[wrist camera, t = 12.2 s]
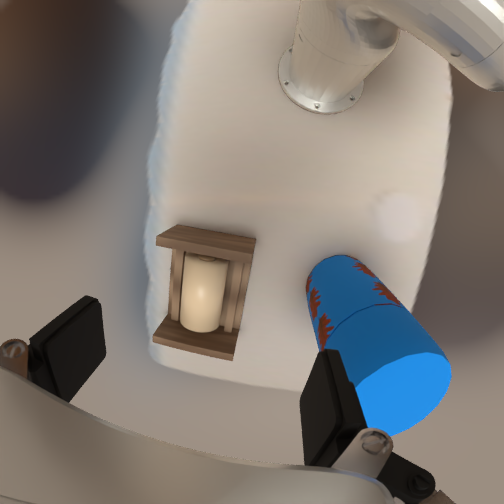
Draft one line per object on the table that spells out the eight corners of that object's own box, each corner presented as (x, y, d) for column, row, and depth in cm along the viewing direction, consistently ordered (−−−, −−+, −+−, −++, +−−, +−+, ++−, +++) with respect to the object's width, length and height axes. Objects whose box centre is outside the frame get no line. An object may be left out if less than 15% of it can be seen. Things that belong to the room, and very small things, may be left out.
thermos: (381, 267, 40) (473, 359, 16) (352, 324, 43) (405, 441, 19) (320, 244, 40) (383, 338, 16) (293, 306, 42) (311, 436, 18)
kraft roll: (192, 246, 40) (179, 257, 34) (232, 253, 40) (224, 267, 34) (186, 309, 43) (174, 328, 37) (222, 318, 43) (214, 338, 37)
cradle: (177, 224, 40) (156, 236, 32) (255, 239, 40) (252, 254, 32) (169, 316, 45) (152, 341, 37) (238, 332, 44) (232, 361, 37)
